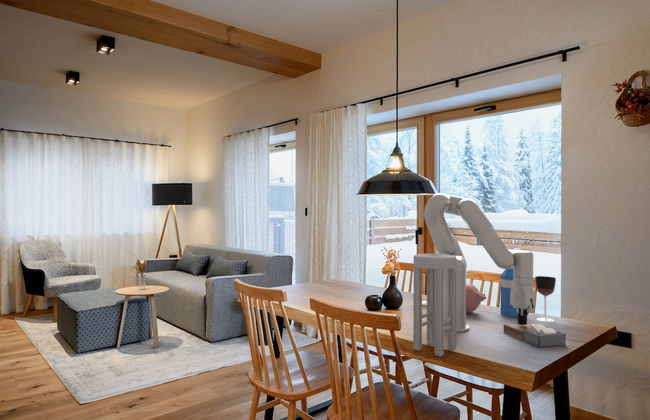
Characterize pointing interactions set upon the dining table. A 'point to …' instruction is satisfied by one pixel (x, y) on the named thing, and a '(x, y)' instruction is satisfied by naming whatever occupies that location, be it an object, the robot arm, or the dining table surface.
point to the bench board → (516, 330)
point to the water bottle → (507, 293)
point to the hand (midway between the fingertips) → (522, 324)
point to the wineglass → (545, 291)
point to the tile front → (547, 331)
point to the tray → (545, 339)
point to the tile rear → (536, 328)
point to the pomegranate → (473, 297)
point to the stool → (435, 301)
